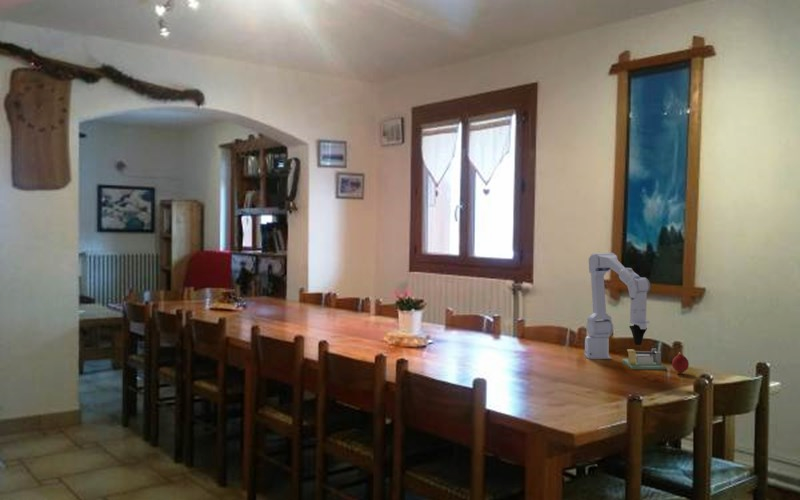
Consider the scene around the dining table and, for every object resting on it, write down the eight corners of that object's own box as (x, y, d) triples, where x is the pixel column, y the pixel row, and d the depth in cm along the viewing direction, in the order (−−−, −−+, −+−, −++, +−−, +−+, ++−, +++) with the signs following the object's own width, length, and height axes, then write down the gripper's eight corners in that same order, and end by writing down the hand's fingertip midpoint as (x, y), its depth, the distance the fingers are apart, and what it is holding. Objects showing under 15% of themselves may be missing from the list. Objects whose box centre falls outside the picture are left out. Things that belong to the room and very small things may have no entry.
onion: (688, 372, 256) (689, 351, 256) (688, 375, 251) (688, 354, 251) (672, 371, 259) (672, 350, 258) (671, 374, 254) (671, 353, 253)
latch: (629, 364, 265) (629, 351, 265) (626, 362, 270) (626, 349, 270) (635, 364, 265) (636, 351, 265) (632, 362, 270) (633, 349, 269)
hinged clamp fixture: (631, 369, 262) (631, 354, 262) (621, 361, 276) (622, 346, 276) (665, 369, 261) (665, 354, 261) (654, 361, 275) (654, 346, 275)
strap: (630, 354, 267) (630, 352, 267) (627, 352, 271) (627, 349, 271) (659, 355, 266) (659, 352, 266) (655, 353, 270) (655, 350, 270)
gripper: (654, 312, 250) (654, 348, 251) (643, 306, 265) (642, 340, 265) (635, 312, 251) (634, 348, 251) (625, 306, 265) (624, 340, 266)
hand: (637, 344), depth 258 cm, fingers closed
